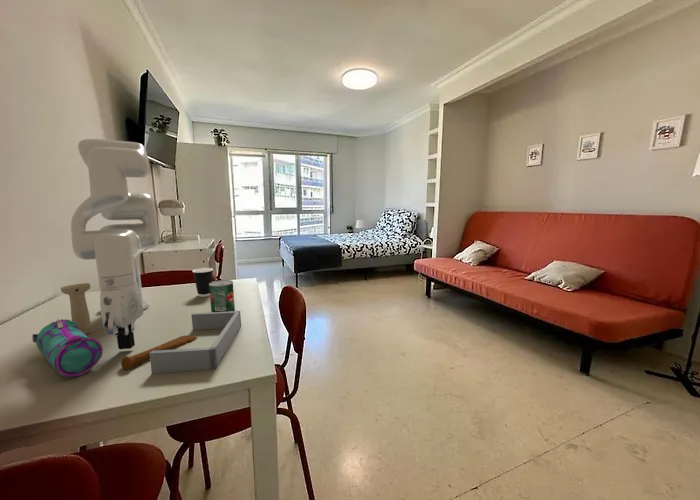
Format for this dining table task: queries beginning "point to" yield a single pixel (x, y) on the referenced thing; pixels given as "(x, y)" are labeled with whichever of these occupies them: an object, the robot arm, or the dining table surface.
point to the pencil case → (68, 348)
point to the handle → (79, 305)
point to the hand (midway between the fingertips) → (126, 347)
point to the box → (199, 356)
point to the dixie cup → (203, 280)
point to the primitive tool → (144, 356)
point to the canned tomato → (222, 296)
